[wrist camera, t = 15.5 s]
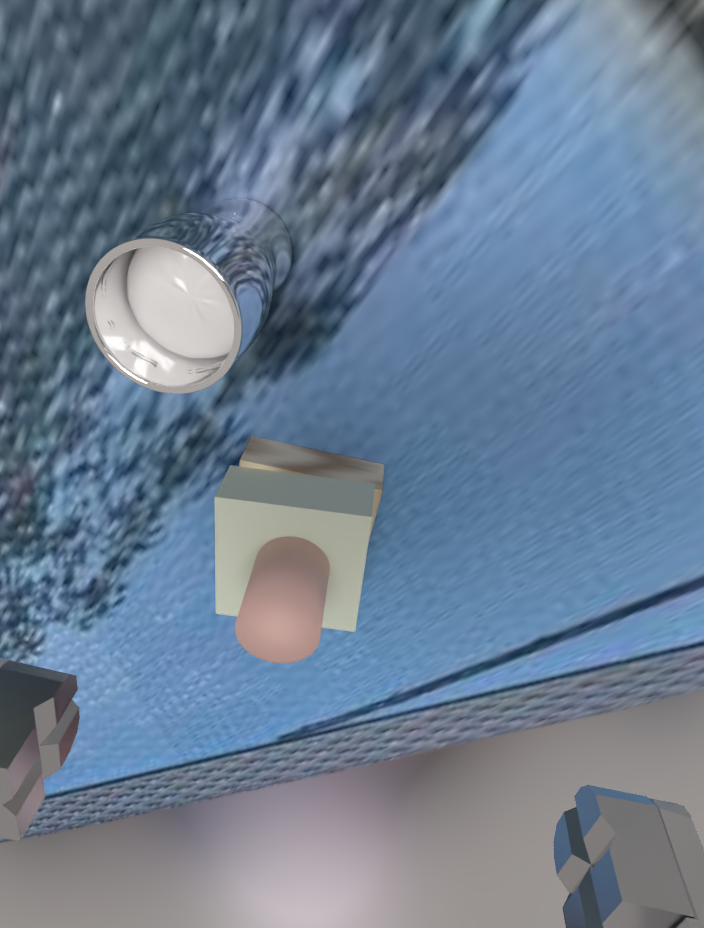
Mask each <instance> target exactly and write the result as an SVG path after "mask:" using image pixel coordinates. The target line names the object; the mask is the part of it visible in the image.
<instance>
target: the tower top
mask: <svg viewBox="0 0 704 928" xmlns="http://www.w3.org/2000/svg"><path fill="white" fill-rule="evenodd" d="M374 487H375V484H372V483H365V482H357V481H349V480H341V479H334V478H326V477H318V476H310V475H302V474H295V473H287V472H279V471H271V470H263V469H256V468H248V467H240V466H232V465H230V467H229V469H228V471H227V473H226V475H225V477H224V479H223V481H222V483H221V485H220V487H219V489H218V491H217V493H216V495H215V582H216V614H223V615H230V616H238V613H239V610H240V607H241V604H242V601H243V598H244V594H245V591H246V588H247V585H248V582H249V579H250V575H251V572H252V569H253V566H254V563H255V559H256V556H257V554H258V552H259V550H260V549H261V548H262V546H264V545H265V544H266V543H268V542H269V541H271V540H273V539H276V538H280V537H298V538H302V539H305V540H308V541H310V542H312V543H314V544H315V545H317V546H318V547H319V548H320V549H321V550H322V551H323V552H324V553H325V555H326V557H327V558H328V561H329V565H330V573H329V580H328V587H327V593H326V600H325V607H324V614H323V621H322V628H330V629H337V630H345V631H352V632H355V629H356V622H357V615H358V609H359V602H360V595H361V589H362V582H363V575H364V569H365V562H366V555H367V548H368V542H369V535H370V528H371V522H372V513H373V500H374Z"/></svg>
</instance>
